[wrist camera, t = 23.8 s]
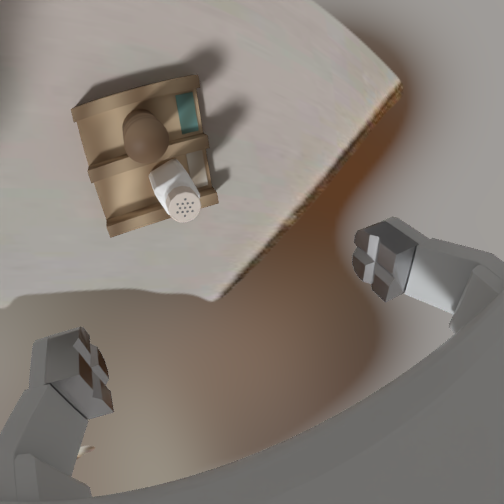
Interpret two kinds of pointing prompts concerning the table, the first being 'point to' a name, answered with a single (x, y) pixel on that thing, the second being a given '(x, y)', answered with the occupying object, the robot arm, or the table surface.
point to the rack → (137, 174)
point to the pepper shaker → (176, 191)
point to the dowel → (144, 136)
